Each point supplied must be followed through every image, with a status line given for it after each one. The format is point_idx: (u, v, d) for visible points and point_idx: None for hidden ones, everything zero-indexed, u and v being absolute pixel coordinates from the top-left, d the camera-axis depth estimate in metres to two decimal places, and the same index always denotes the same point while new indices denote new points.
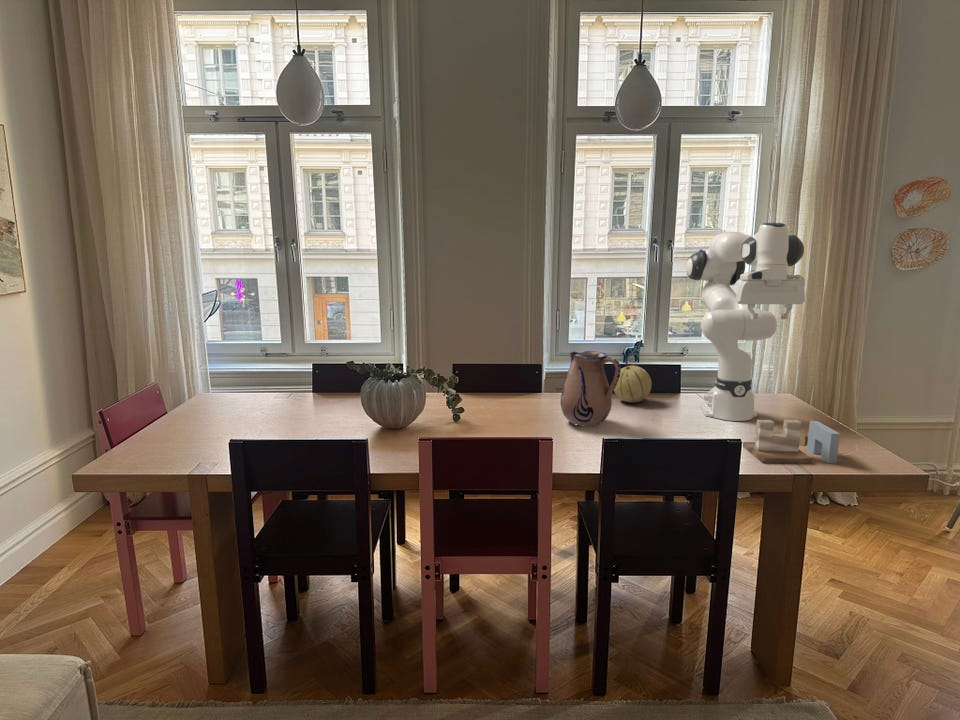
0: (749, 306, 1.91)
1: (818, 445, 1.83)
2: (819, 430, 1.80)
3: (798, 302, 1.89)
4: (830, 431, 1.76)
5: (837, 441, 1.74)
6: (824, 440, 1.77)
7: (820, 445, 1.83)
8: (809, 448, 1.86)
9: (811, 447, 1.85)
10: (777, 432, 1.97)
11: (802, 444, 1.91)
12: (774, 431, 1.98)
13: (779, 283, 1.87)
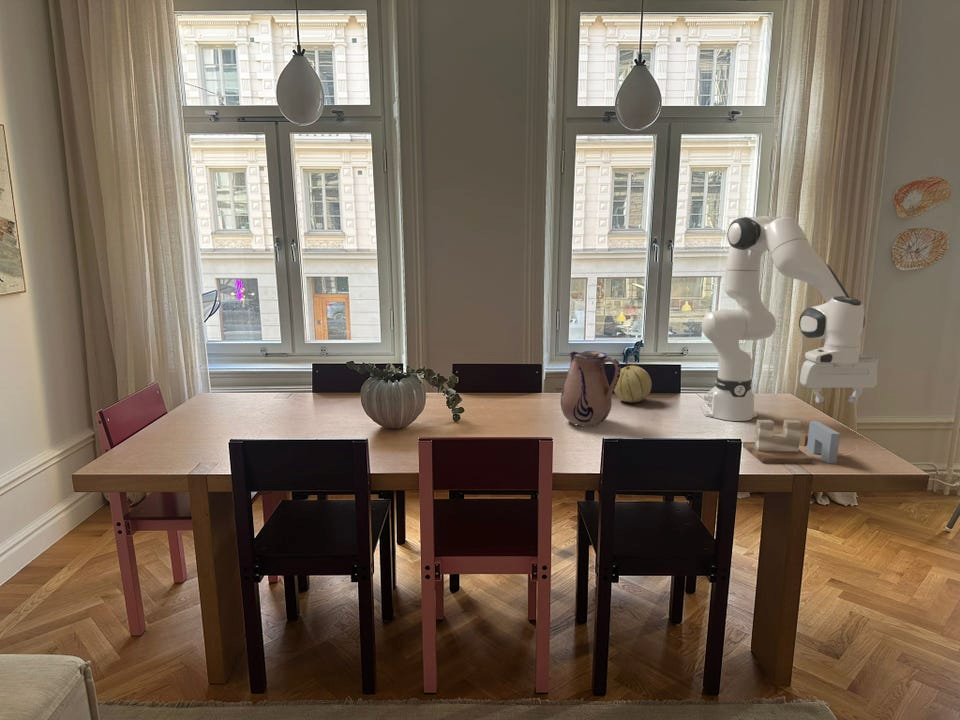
0: (814, 389, 1.73)
1: (818, 445, 1.83)
2: (819, 430, 1.80)
3: (870, 386, 1.71)
4: (830, 431, 1.76)
5: (837, 441, 1.74)
6: (824, 440, 1.77)
7: (820, 445, 1.83)
8: (809, 448, 1.86)
9: (811, 447, 1.85)
10: (777, 432, 1.97)
11: (802, 444, 1.91)
12: (774, 431, 1.98)
13: (850, 366, 1.69)
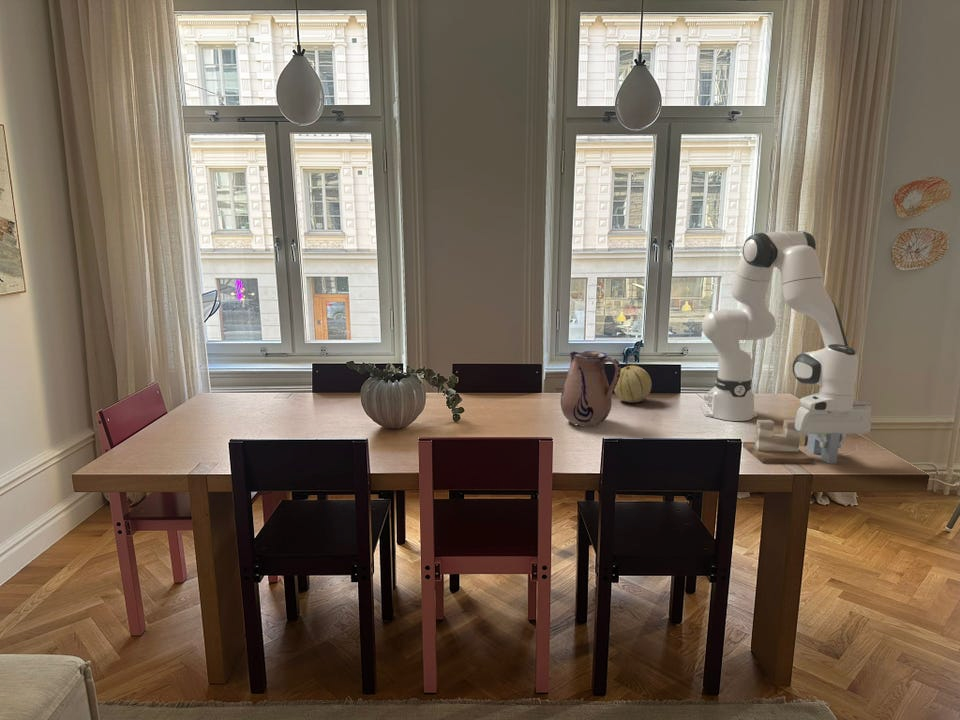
0: (819, 435, 1.76)
1: (818, 445, 1.83)
2: None
3: (863, 432, 1.74)
4: None
5: (837, 441, 1.74)
6: (824, 440, 1.77)
7: None
8: (809, 448, 1.86)
9: (811, 447, 1.85)
10: (777, 432, 1.98)
11: (802, 444, 1.91)
12: (774, 431, 1.98)
13: (844, 413, 1.72)
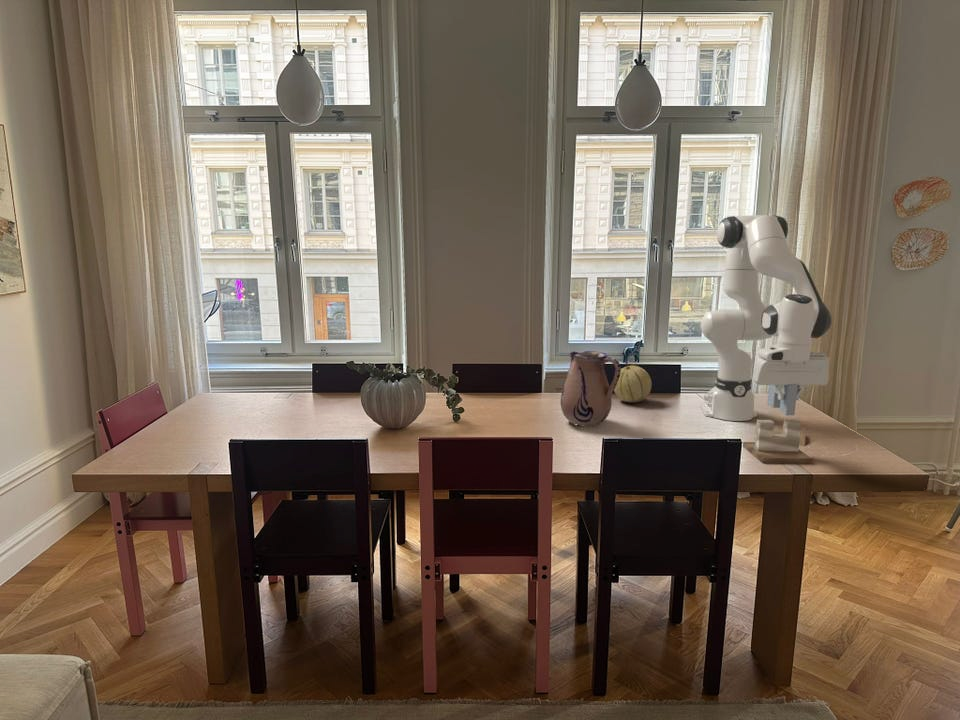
0: (776, 386, 1.74)
1: None
2: None
3: (821, 383, 1.72)
4: None
5: (795, 392, 1.73)
6: (783, 392, 1.75)
7: None
8: (769, 403, 1.84)
9: (771, 401, 1.83)
10: (777, 432, 1.98)
11: (802, 444, 1.91)
12: (774, 431, 1.98)
13: (801, 364, 1.70)
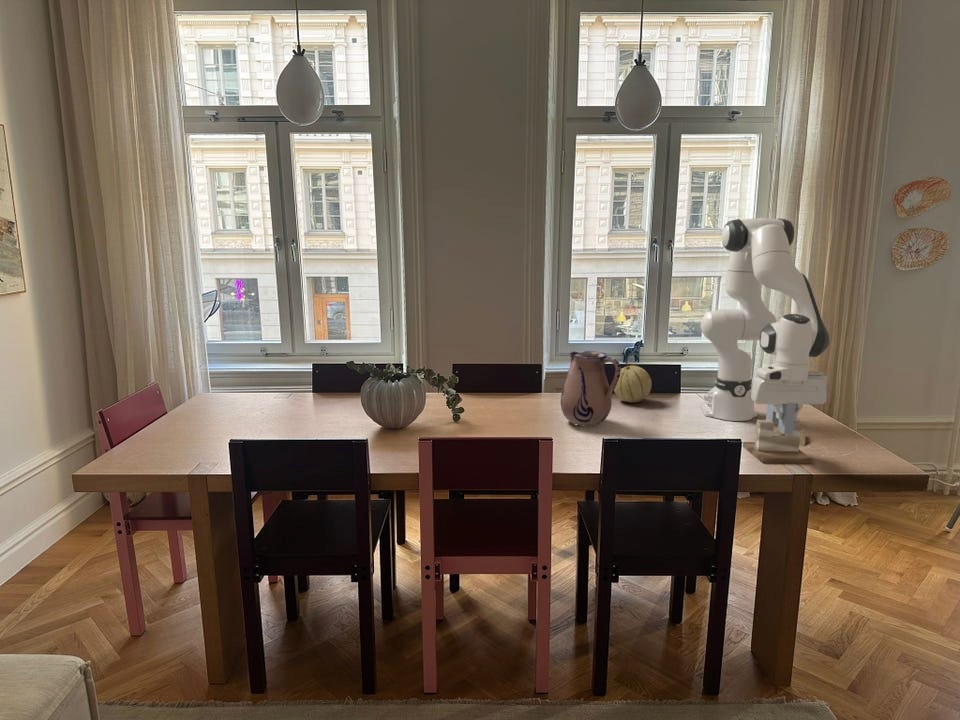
0: (775, 405, 1.75)
1: None
2: None
3: (819, 402, 1.73)
4: None
5: (793, 411, 1.73)
6: (781, 411, 1.76)
7: None
8: None
9: None
10: (777, 432, 1.98)
11: (802, 444, 1.91)
12: (774, 431, 1.98)
13: (799, 383, 1.71)
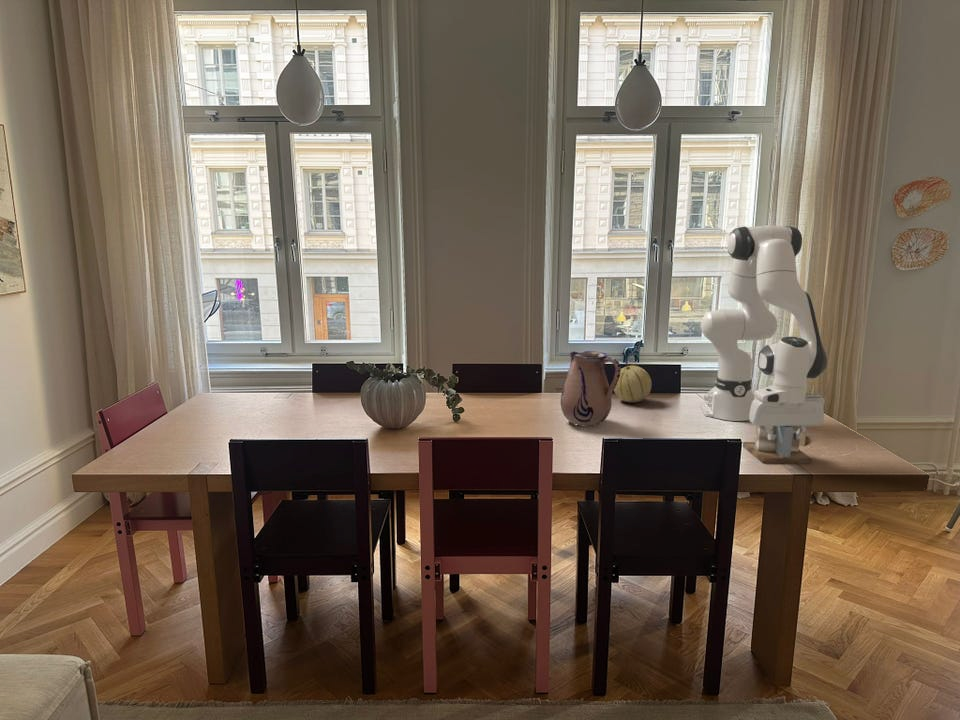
0: (766, 427, 1.77)
1: None
2: None
3: (816, 424, 1.75)
4: None
5: (790, 435, 1.75)
6: (779, 434, 1.78)
7: None
8: None
9: None
10: None
11: (802, 444, 1.91)
12: None
13: (797, 405, 1.72)
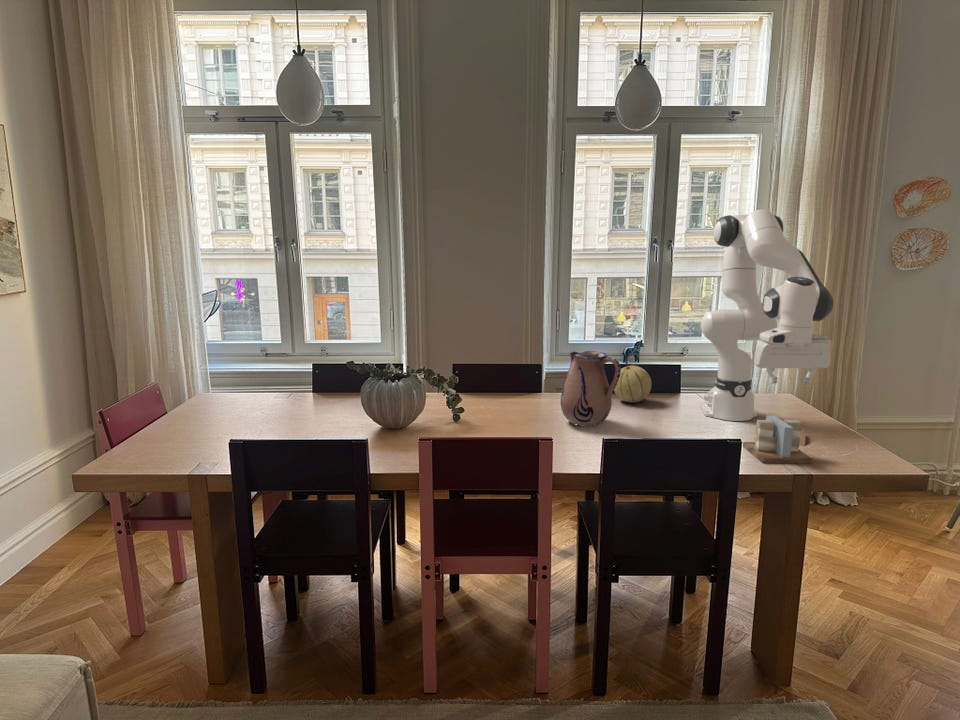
0: (768, 370, 1.73)
1: None
2: (774, 424, 1.81)
3: (823, 366, 1.71)
4: (784, 425, 1.76)
5: (790, 435, 1.75)
6: (779, 434, 1.78)
7: None
8: None
9: None
10: None
11: (802, 444, 1.91)
12: None
13: (803, 346, 1.69)
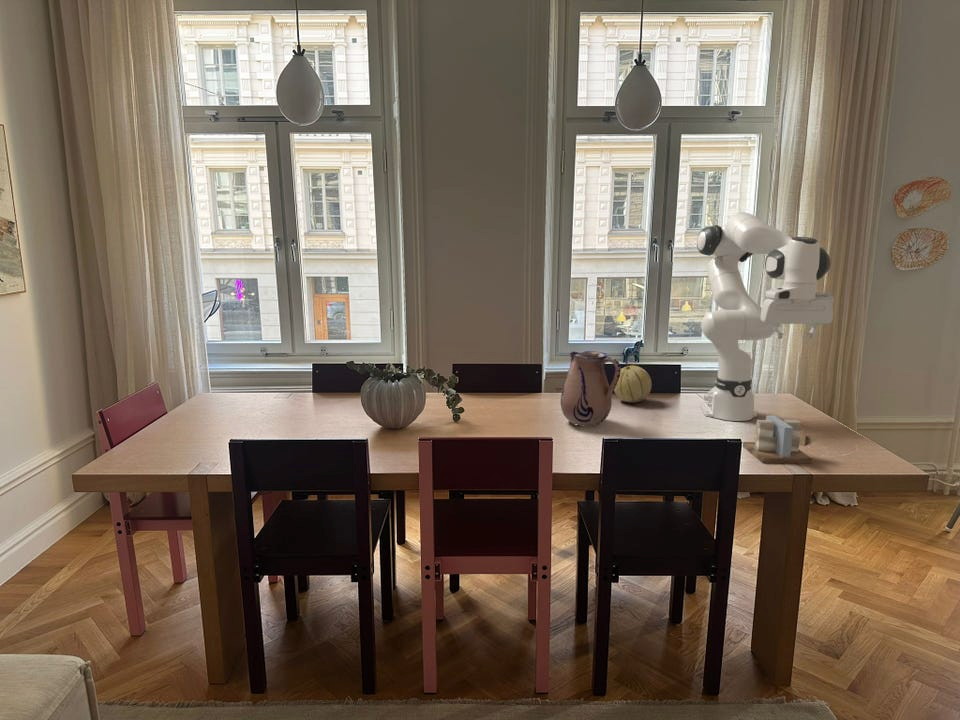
0: (774, 325, 1.83)
1: None
2: (774, 424, 1.81)
3: (826, 322, 1.81)
4: (784, 425, 1.76)
5: (790, 435, 1.75)
6: (779, 434, 1.78)
7: None
8: None
9: None
10: None
11: (802, 444, 1.91)
12: None
13: (807, 302, 1.78)
